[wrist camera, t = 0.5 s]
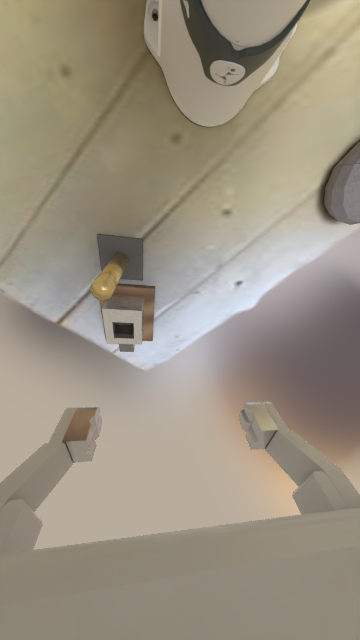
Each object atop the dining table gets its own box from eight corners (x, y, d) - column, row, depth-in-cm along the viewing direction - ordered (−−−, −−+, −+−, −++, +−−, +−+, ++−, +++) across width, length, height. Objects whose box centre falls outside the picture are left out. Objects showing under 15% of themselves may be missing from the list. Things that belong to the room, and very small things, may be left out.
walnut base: (99, 282, 41) (97, 284, 40) (154, 286, 43) (154, 289, 42) (107, 336, 50) (105, 339, 49) (152, 337, 52) (152, 341, 51)
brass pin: (113, 251, 37) (88, 279, 24) (128, 252, 37) (111, 281, 24) (114, 265, 39) (92, 299, 26) (128, 266, 39) (113, 300, 26)
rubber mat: (97, 233, 35) (96, 234, 35) (142, 239, 37) (142, 239, 36) (103, 276, 40) (102, 277, 40) (142, 279, 42) (142, 280, 41)
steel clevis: (109, 293, 41) (101, 308, 36) (144, 295, 42) (141, 310, 37) (114, 338, 49) (108, 357, 43) (143, 339, 50) (141, 357, 44)
